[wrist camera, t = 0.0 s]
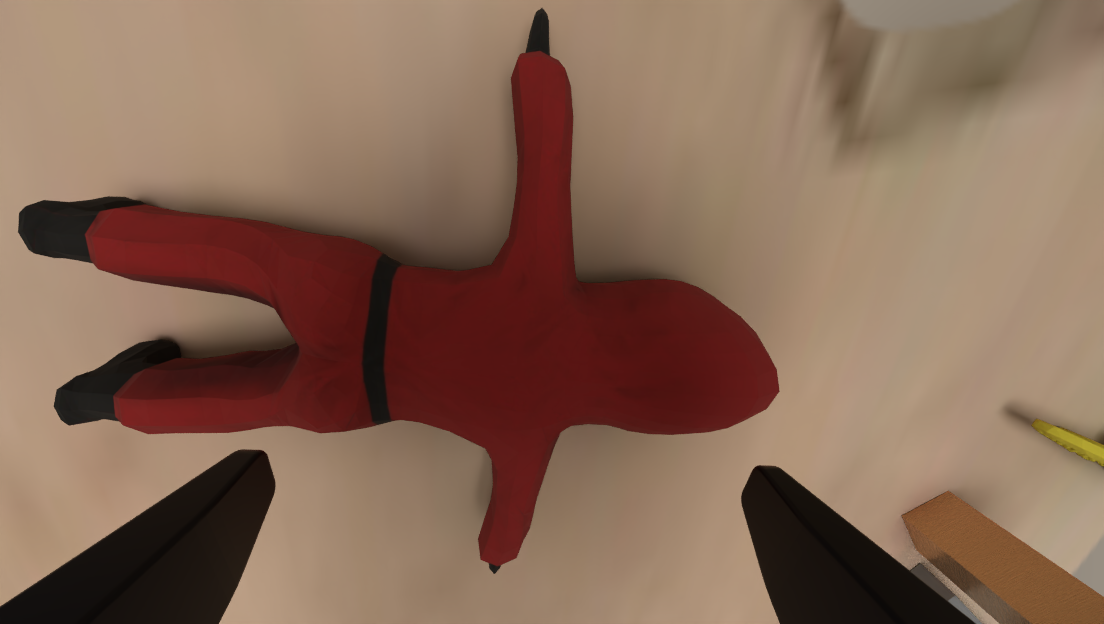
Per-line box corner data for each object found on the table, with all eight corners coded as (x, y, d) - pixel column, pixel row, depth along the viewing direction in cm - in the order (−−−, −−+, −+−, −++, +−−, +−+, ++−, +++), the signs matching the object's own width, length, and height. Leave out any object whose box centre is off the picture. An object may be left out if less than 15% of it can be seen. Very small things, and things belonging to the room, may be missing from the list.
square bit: (916, 550, 30) (1171, 775, 18) (901, 515, 29) (1158, 728, 17) (962, 526, 30) (1248, 738, 18) (948, 491, 29) (1240, 690, 17)
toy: (182, 524, 25) (674, 538, 28) (27, 675, 17) (735, 674, 20) (110, -28, 18) (771, 67, 21) (-206, -200, 10) (924, -11, 13)
